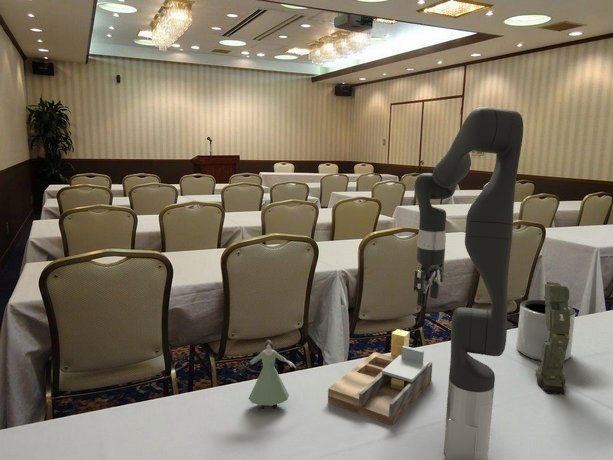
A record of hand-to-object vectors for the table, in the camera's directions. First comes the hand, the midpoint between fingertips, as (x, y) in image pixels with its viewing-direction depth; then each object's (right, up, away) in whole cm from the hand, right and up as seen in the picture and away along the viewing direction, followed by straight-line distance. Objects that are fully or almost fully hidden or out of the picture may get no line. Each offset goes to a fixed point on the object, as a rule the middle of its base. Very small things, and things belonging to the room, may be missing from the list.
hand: (427, 301), depth 141 cm
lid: (-7, -18, -4) cm, 20 cm away
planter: (+42, -20, +21) cm, 51 cm away
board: (-14, -24, -5) cm, 28 cm away
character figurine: (-45, -25, -13) cm, 53 cm away
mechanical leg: (+35, -23, +1) cm, 42 cm away
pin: (-6, -21, +12) cm, 25 cm away
